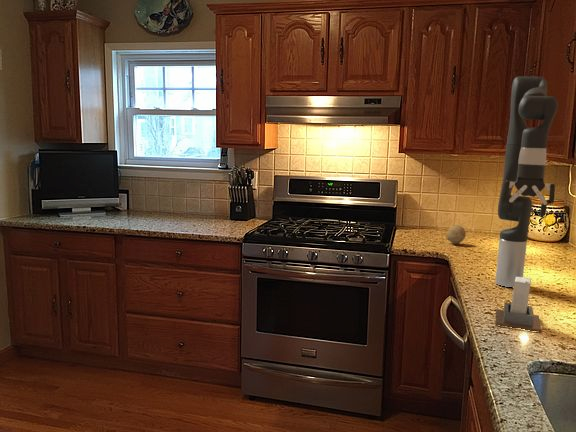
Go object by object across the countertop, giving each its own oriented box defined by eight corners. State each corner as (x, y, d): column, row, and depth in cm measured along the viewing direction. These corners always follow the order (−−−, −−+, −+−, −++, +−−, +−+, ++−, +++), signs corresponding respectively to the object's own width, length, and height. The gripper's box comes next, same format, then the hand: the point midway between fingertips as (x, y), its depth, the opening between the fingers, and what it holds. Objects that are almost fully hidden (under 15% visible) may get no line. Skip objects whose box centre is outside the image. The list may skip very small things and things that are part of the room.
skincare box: (510, 314, 156) (514, 275, 154) (526, 317, 154) (531, 278, 152) (508, 320, 150) (513, 280, 148) (525, 323, 148) (530, 283, 146)
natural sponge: (466, 247, 256) (468, 227, 254) (447, 245, 257) (449, 226, 256) (463, 243, 265) (464, 224, 263) (445, 242, 266) (446, 223, 265)
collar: (495, 312, 160) (496, 299, 160) (538, 318, 156) (539, 305, 155) (495, 325, 148) (496, 312, 148) (541, 333, 144) (542, 319, 143)
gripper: (506, 162, 156) (501, 215, 159) (559, 164, 151) (552, 219, 154) (506, 161, 163) (501, 211, 166) (556, 163, 158) (550, 215, 161)
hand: (526, 215), depth 160 cm, fingers open, 8 cm apart
